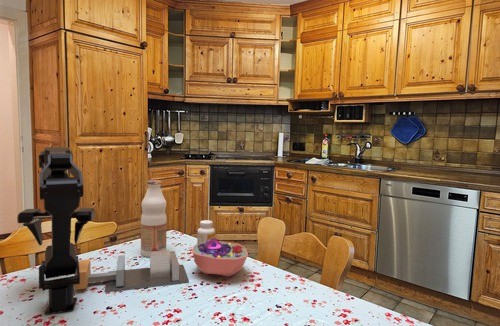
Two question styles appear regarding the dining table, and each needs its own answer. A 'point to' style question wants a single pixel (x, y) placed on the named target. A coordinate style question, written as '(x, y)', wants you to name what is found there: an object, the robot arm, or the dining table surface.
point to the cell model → (219, 257)
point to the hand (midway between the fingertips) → (58, 244)
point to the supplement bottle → (205, 231)
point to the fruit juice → (153, 220)
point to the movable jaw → (100, 274)
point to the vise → (143, 280)
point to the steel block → (159, 264)
